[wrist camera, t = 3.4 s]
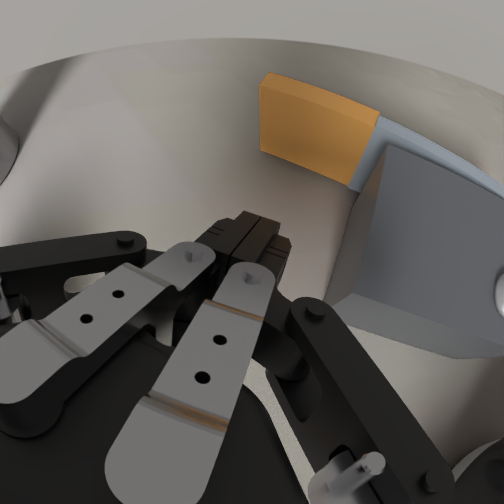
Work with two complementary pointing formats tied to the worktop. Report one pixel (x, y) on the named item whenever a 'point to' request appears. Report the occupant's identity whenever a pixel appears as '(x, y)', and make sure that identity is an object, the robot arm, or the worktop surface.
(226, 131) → the worktop surface
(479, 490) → the pump dispenser
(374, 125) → the grey and orange bar
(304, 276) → the worktop surface
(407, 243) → the camera body
